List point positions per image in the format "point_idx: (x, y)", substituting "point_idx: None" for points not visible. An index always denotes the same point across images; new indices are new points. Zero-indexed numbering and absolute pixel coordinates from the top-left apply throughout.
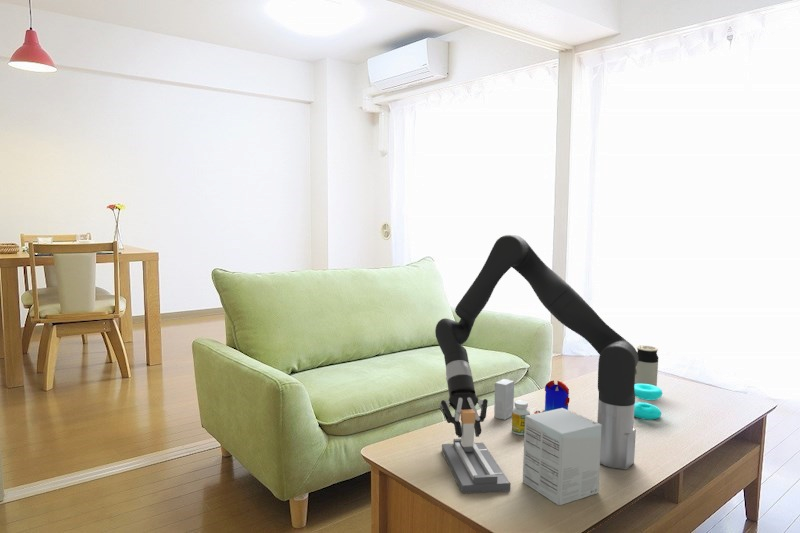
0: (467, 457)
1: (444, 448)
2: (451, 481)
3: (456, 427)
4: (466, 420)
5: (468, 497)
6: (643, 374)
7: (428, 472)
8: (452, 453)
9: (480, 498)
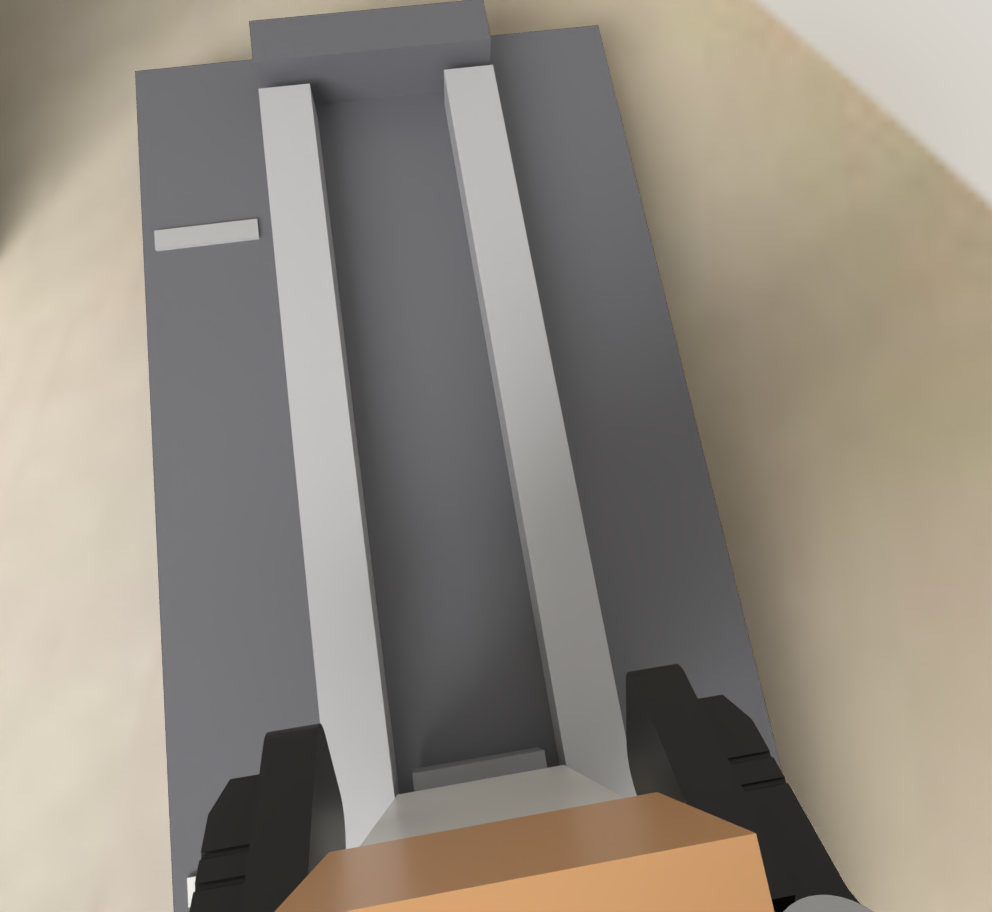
0: (516, 480)
1: None
2: (676, 264)
3: (779, 798)
4: (576, 820)
5: None
6: None
7: (909, 424)
8: None
9: None
